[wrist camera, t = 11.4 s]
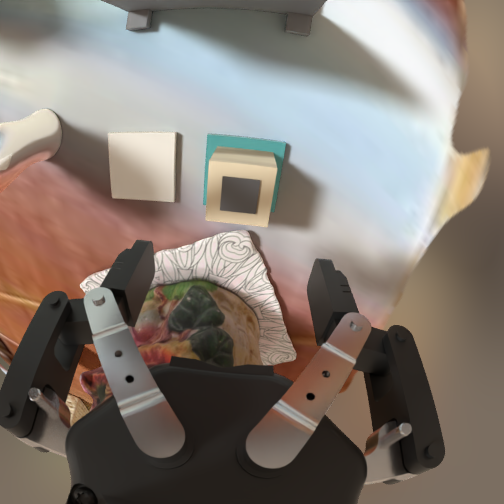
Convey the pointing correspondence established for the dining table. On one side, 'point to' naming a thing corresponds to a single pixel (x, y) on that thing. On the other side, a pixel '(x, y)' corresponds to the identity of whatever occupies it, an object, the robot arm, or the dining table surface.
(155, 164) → the pad
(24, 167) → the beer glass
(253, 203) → the beige cube
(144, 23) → the screen
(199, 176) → the dining table surface
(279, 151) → the pad
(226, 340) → the cookie jar
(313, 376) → the robot arm
